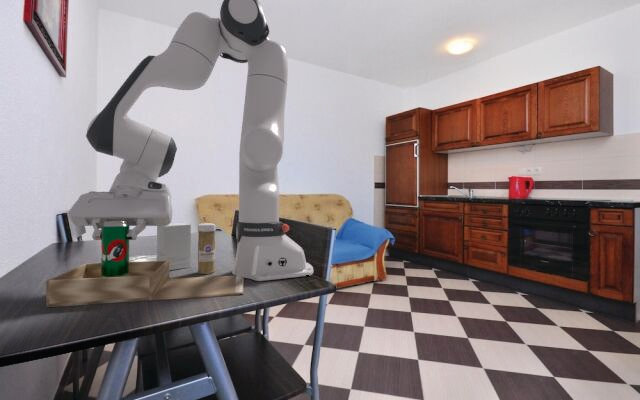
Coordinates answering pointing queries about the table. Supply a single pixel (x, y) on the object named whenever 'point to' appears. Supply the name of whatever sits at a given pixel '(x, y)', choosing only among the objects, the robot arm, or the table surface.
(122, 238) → the soda can
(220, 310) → the table surface
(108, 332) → the table surface
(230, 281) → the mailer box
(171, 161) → the robot arm
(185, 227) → the supplement box
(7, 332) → the table surface
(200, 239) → the sprinkles bottle
